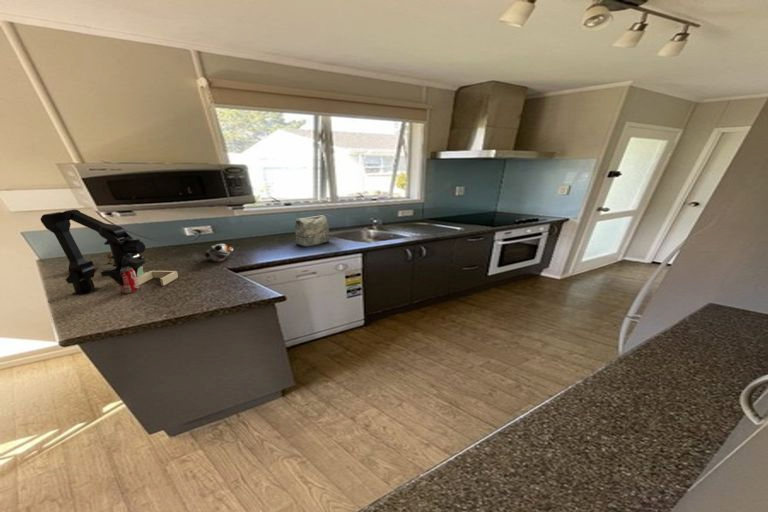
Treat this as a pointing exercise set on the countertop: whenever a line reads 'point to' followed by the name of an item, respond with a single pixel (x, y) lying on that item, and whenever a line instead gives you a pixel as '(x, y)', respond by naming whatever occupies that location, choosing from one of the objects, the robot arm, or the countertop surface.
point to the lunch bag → (312, 230)
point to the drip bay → (158, 276)
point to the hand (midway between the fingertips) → (128, 282)
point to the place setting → (107, 257)
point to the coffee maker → (140, 272)
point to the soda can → (129, 280)
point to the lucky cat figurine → (218, 252)
